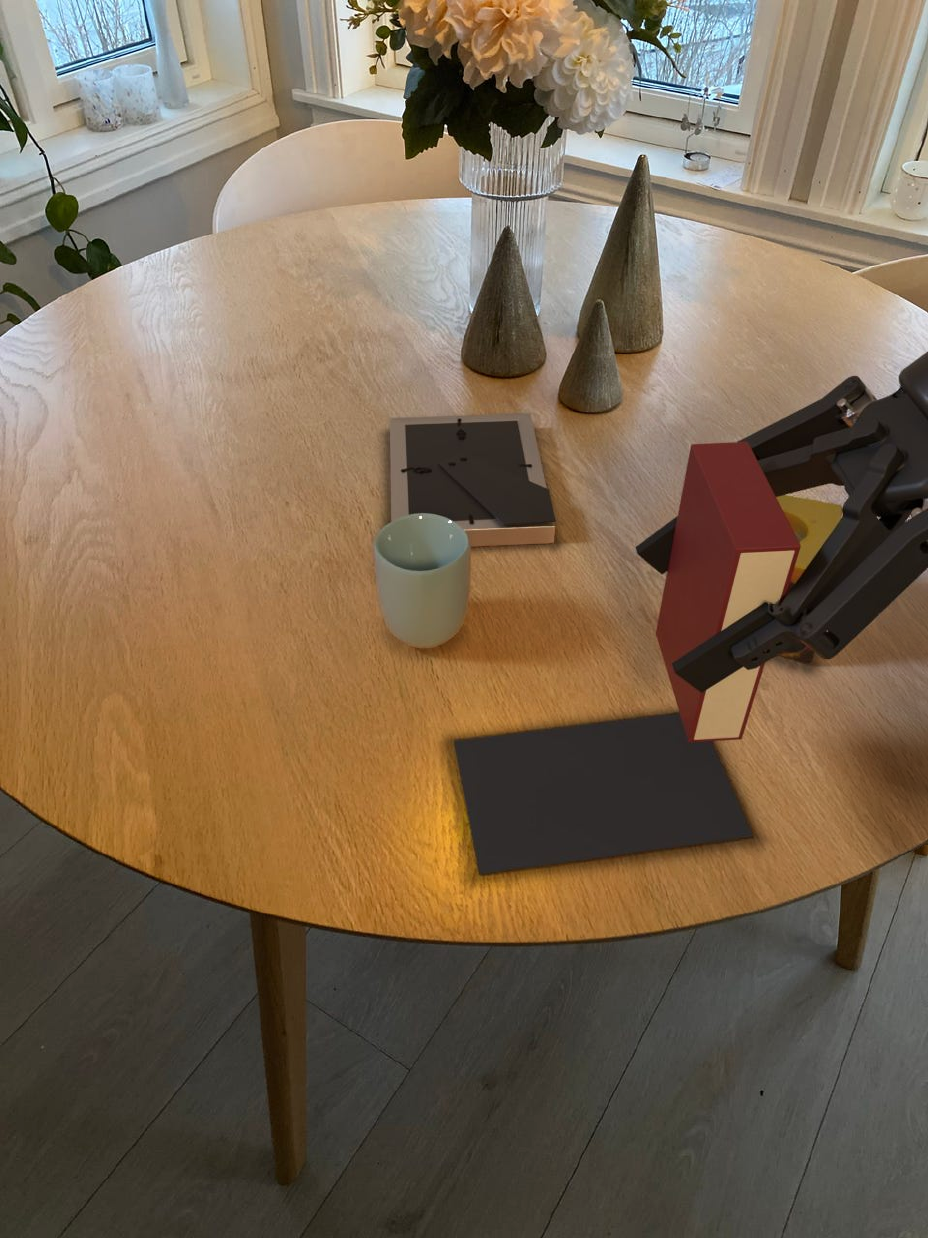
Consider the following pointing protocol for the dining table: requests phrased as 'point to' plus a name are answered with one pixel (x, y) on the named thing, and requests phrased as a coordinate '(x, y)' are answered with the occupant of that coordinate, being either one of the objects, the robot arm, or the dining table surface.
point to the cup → (423, 578)
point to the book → (722, 577)
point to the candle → (807, 545)
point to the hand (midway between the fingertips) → (666, 616)
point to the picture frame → (473, 476)
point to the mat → (594, 793)
